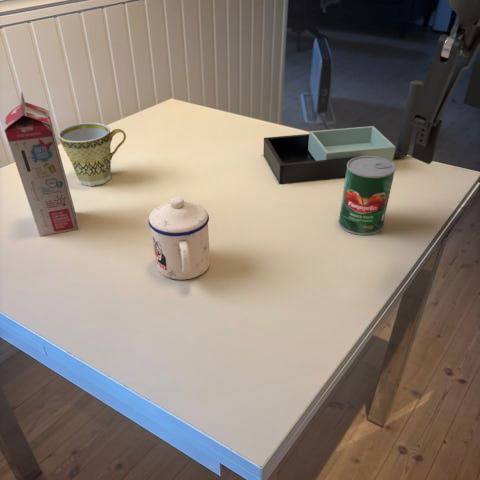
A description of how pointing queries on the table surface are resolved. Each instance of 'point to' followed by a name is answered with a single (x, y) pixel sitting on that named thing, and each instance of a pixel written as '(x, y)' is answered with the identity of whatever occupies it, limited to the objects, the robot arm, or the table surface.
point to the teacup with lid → (180, 238)
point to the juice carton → (40, 168)
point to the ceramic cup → (90, 151)
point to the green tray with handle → (365, 137)
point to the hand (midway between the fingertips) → (448, 131)
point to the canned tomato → (366, 194)
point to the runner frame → (299, 161)
